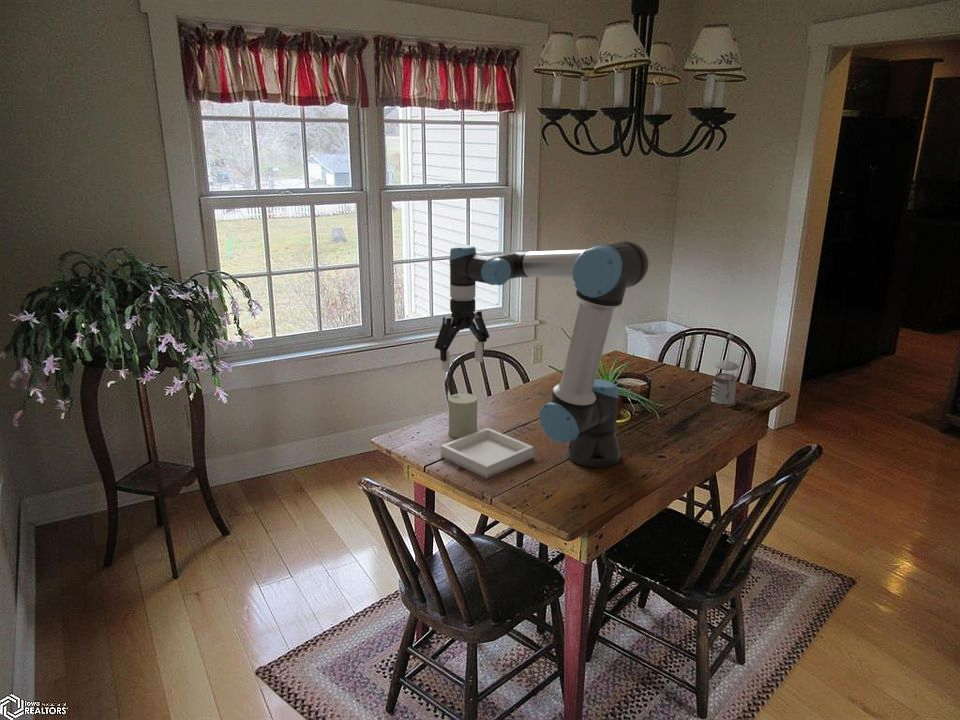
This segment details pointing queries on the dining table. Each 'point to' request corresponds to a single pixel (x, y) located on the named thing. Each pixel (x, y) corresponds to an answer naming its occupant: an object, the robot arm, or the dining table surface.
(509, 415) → the dining table surface
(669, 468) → the dining table surface
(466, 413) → the can
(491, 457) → the tray
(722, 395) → the french press
